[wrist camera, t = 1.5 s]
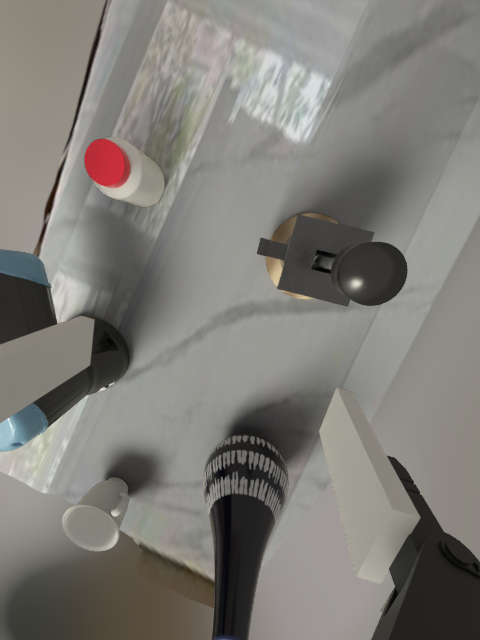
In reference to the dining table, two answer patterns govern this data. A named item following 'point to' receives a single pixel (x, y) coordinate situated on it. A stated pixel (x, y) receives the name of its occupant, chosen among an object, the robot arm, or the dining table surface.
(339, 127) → the dining table surface
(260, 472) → the vase
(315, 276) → the french press
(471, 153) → the dining table surface
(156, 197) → the pill bottle
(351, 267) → the plunger
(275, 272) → the ring
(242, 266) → the dining table surface
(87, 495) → the teacup
